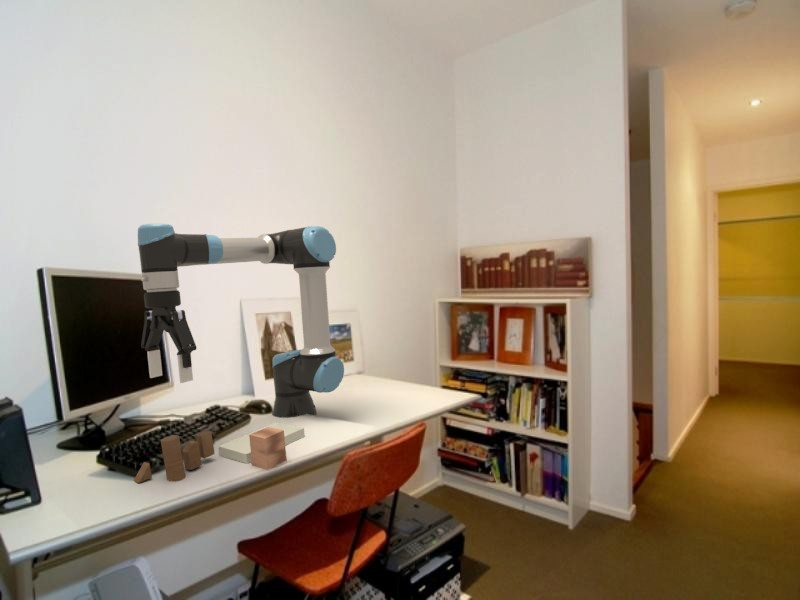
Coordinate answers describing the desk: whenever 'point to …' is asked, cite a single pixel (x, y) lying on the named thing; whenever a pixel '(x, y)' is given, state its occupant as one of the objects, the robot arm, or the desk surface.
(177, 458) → the wooden block set
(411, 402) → the desk surface
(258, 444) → the terracotta brick
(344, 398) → the desk surface
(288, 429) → the base plate
